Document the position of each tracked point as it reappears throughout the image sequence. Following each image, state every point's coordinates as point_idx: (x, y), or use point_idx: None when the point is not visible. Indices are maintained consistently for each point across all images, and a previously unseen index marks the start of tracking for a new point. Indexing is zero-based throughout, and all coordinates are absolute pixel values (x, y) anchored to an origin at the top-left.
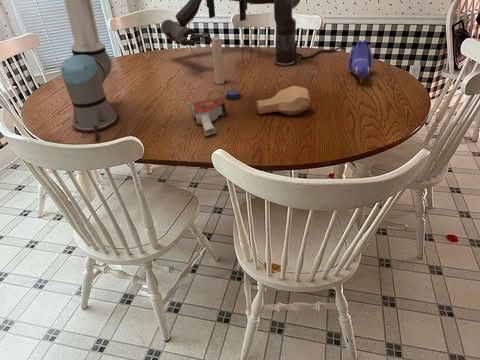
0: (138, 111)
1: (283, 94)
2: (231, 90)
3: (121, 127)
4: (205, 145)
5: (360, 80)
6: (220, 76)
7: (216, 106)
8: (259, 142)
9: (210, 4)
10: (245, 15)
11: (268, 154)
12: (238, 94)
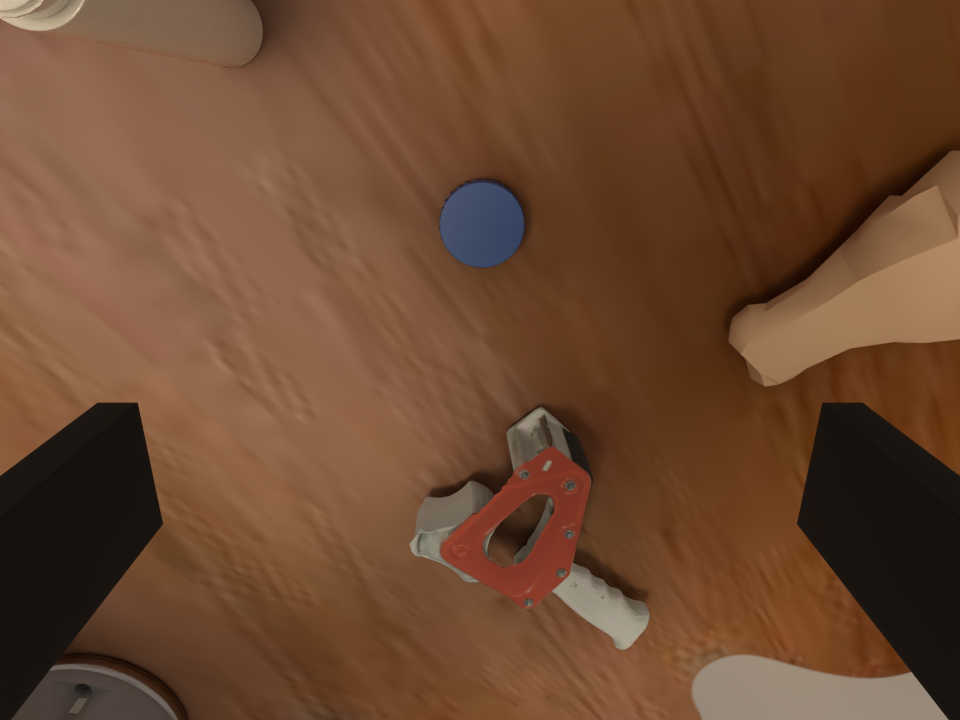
0: (154, 583)
1: (938, 308)
2: (454, 201)
3: (233, 703)
4: (648, 663)
5: None
6: (236, 47)
7: (577, 527)
8: None
9: (2, 688)
10: (901, 445)
11: None
12: (523, 217)
